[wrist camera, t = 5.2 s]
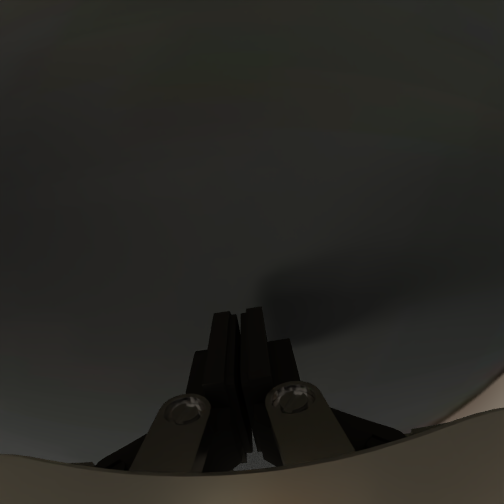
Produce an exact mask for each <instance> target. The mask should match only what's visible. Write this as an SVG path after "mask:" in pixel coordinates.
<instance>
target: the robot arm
mask: <svg viewBox="0 0 504 504" xmlns="http://www.w3.org/2000/svg"><path fill="white" fill-rule="evenodd" d="M252 431H253V435H254V439H255V443H256V447H257V451H258V452H261V451H262V453H263V458H264V460H266V461H268V462H270V463H271V464H273V465H275V466H277V467H271V468H263V469H253V470H243V471H234V470H233V468H235V467H236V466H237V465H238V464H240V463H247V453H252V452H253V446H252ZM0 504H504V408H499V409H492V410H489V411H485V412H480V413H476V414H473V415H470V416H467V417H463V418H461V419H457V420H454V421H452V422H448V423H443V424H438V425H433V426H427V427H421V428H415V429H411V433H407V434H403V433H402V432H401V431H398V430H396V429H394V428H391V427H387V426H384V425H381V424H377V423H374V422H371V421H368V420H365V419H362V418H359V417H356V416H353V415H350V414H347V413H344V412H342V411H339V410H336V409H333V408H330V407H329V405H328V404H327V402H326V400H325V399H324V397H323V395H322V393H321V392H320V390H319V389H318V388H317V387H316V386H314V385H313V384H311V383H308V382H303V381H300V378H299V374H298V370H297V366H296V362H295V358H294V354H293V350H292V346H291V343H290V339H289V338H288V339H282V340H276V341H270V342H267V337H266V330H265V324H264V318H263V312H262V306H261V307H255V308H248V309H246V313H242V314H241V335H240V330H239V325H238V320H237V315H236V314H235V315H231V314H230V311H228V312H220V313H214V316H213V321H212V327H211V333H210V338H209V344H208V350H202V351H196V352H195V354H194V358H193V363H192V367H191V372H190V376H189V381H188V385H187V390H186V394H182V395H178V396H175V397H173V398H171V399H169V400H168V401H167V402H165V403H164V404H163V405H162V407H161V408H160V410H159V412H158V413H157V415H156V417H155V419H154V421H153V423H152V425H151V427H150V429H149V431H148V433H147V434H145V435H144V436H142V437H140V438H139V439H137V440H135V441H133V442H132V443H130V444H128V445H127V446H125V447H123V448H121V449H120V450H118V451H116V452H114V453H112V454H111V455H109V456H107V457H105V458H104V459H102V460H101V461H99V462H98V463H97V465H94V464H93V462H84V463H63V462H57V461H52V460H46V459H40V458H35V457H30V456H21V455H13V454H0Z"/></svg>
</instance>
